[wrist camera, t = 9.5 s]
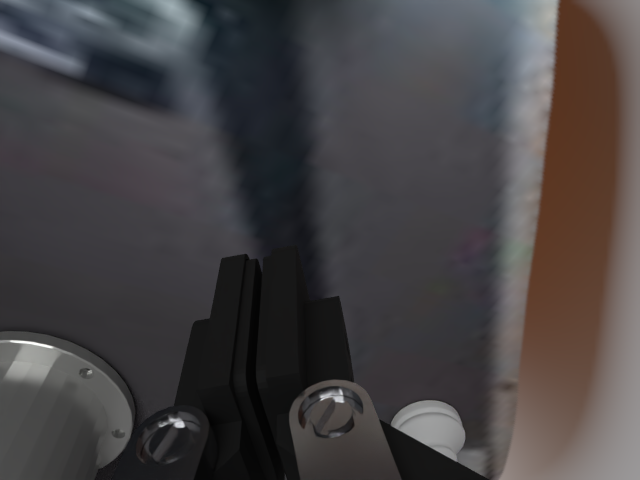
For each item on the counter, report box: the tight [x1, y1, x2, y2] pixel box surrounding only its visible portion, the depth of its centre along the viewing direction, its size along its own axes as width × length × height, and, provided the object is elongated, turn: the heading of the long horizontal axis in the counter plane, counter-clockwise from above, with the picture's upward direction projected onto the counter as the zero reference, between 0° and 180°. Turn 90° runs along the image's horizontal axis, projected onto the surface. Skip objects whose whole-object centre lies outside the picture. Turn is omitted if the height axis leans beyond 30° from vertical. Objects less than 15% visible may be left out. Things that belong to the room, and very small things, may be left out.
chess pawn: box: [391, 400, 465, 462], centre depth 36 cm, size 5×5×9 cm
